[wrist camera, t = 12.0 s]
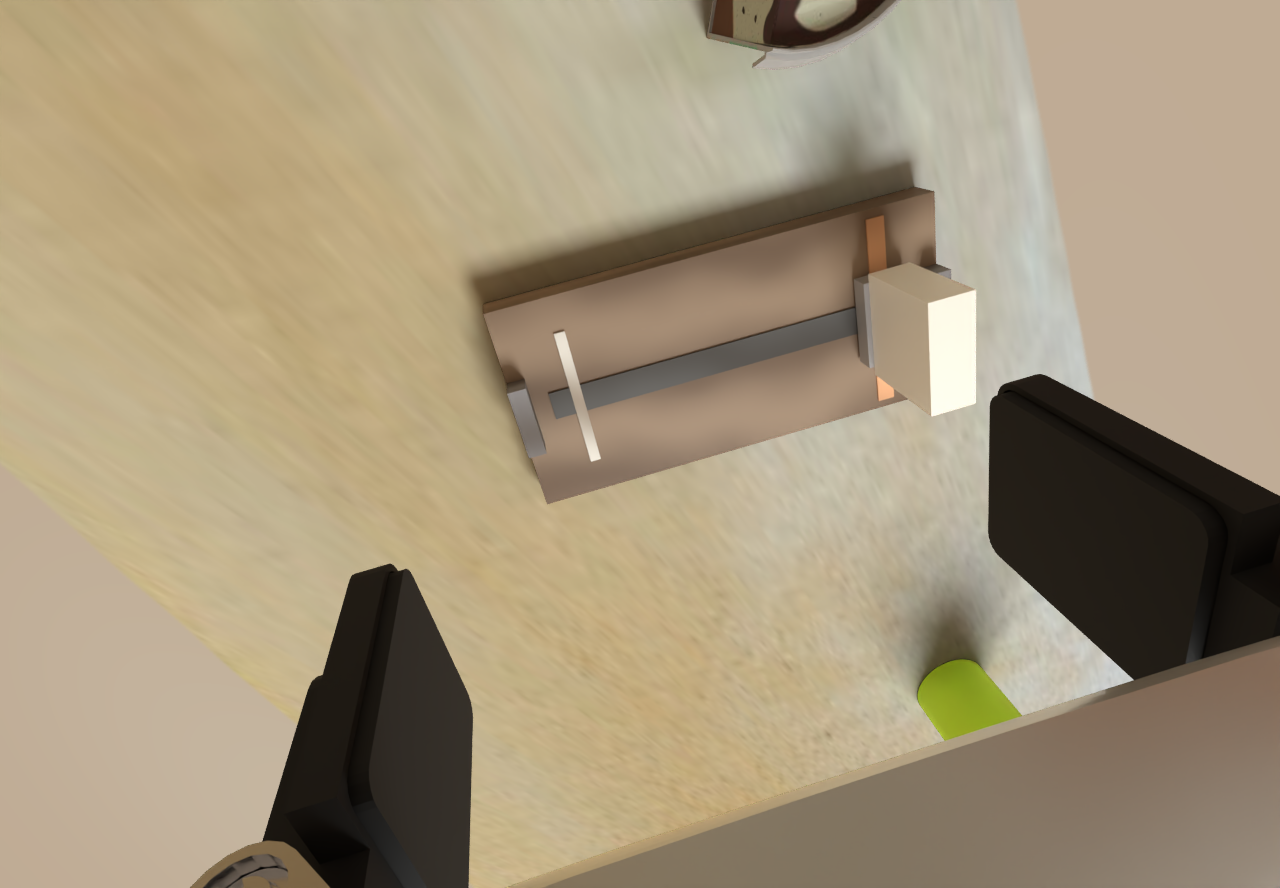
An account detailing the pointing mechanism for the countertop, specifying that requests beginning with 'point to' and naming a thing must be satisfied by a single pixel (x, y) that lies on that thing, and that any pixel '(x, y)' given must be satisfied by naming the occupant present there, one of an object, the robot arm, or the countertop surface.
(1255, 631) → the robot arm
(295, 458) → the countertop surface
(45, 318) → the countertop surface
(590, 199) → the countertop surface
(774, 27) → the food container
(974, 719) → the soap dispenser
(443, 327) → the countertop surface
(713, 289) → the slider board
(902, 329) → the block
